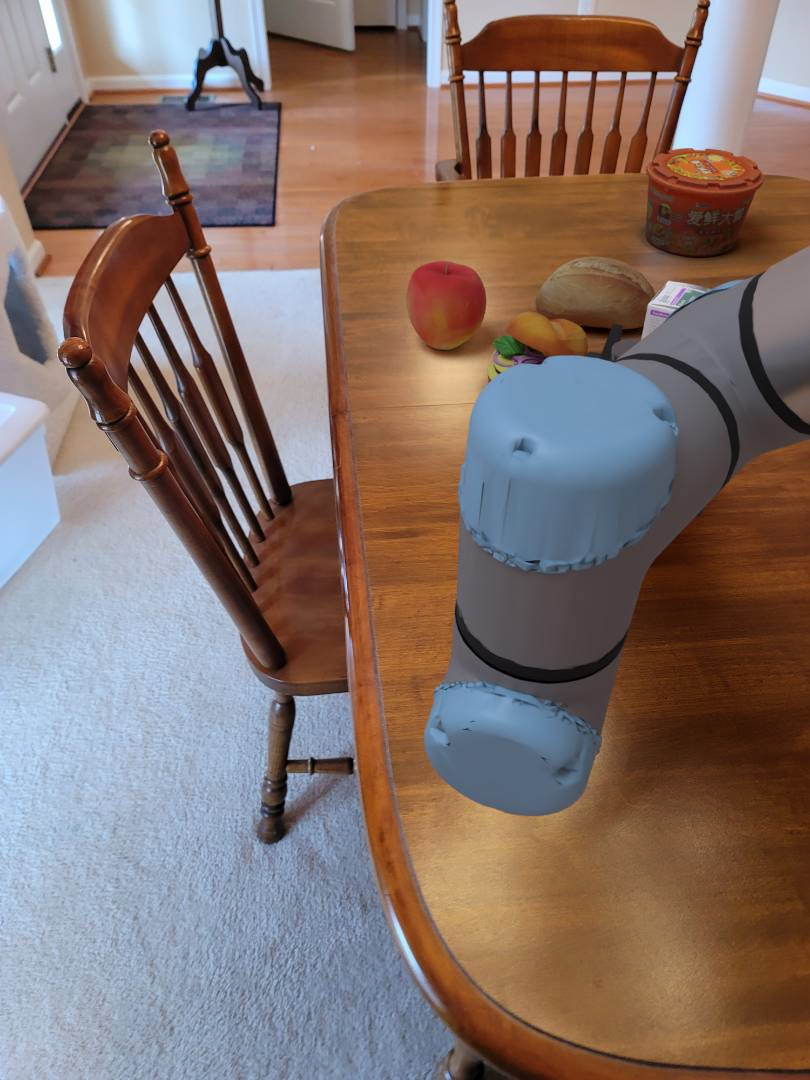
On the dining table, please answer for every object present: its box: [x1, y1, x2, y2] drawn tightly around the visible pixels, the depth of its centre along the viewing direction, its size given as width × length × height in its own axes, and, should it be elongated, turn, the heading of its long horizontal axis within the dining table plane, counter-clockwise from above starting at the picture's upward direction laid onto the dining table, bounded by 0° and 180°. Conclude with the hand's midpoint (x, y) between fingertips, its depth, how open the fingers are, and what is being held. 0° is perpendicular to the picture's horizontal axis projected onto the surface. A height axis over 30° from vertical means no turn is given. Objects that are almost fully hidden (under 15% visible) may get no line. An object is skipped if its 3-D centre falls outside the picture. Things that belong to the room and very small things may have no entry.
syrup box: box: [640, 280, 711, 341], centre depth 85 cm, size 6×6×14 cm
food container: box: [644, 147, 765, 258], centre depth 120 cm, size 16×16×11 cm
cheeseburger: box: [486, 310, 589, 384], centre depth 92 cm, size 10×11×10 cm
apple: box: [405, 260, 487, 351], centre depth 98 cm, size 10×10×10 cm
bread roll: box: [535, 256, 657, 330], centre depth 103 cm, size 10×15×8 cm, turn 80°
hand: (639, 345), depth 62 cm, fingers closed on lid, 3 cm apart
